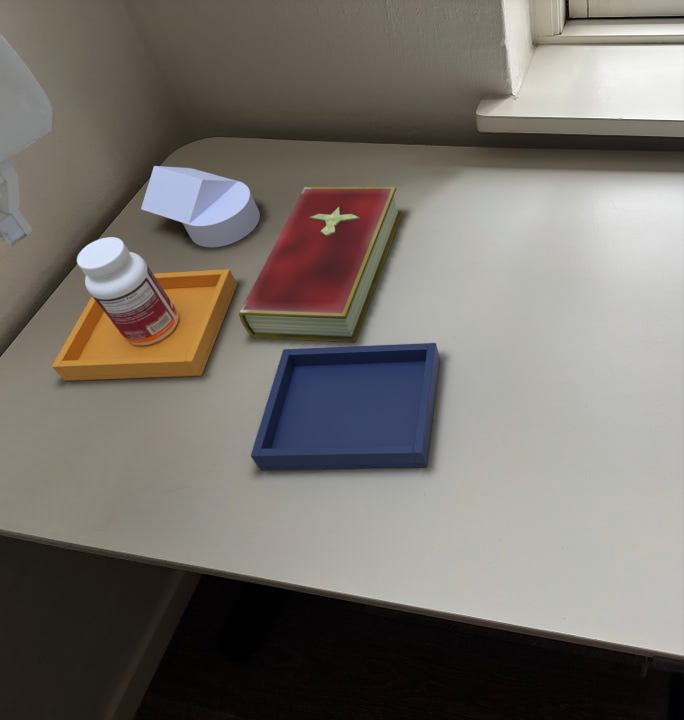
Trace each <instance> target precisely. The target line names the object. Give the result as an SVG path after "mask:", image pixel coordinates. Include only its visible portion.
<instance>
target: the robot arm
mask: <svg viewBox="0 0 684 720" xmlns="http://www.w3.org/2000/svg"><path fill="white" fill-rule="evenodd" d="M54 112H55V111H54V106H53V104H52V102H51V100H50V98H49V97H48V95H47V93H46V92H45V90H44V88H43V87H42V86H41V84H40V83H39V81H38V80H37V78H36V77H35V75H34V74H33V73H32V71H31V70H30V68H29V67H28V66H27V65H26V63H25V62H24V60H23V59H22V58H21V56H20V55H19V54H18V53H17V51H16V50H15V49H14V47H13V46H11V44H10V43H9V42H8V40H7V39H6V38H5V37H4V36H3V34H2V33H0V241H1V242H3V243H7V245H9V246H11V247H13V246H14V245H16V244H17V243H19V242H20V241H22V240H23V239H25V238H26V237H27V236H29V235H31V234H32V233H34V228H33V227H32V225H31V224H30V223H29V221H28V220H27V219H26V217H25V216H24V215H23V213H22V211H21V210H20V208H21V197H20V195H21V194H20V177H19V176H20V175H19V172H18V171H17V170H16V168H15V167H14V165H13V164H12V162H11V161H10V160H9V159H10V158H11V157H13V156H15V155H16V154H18V153H20V152H21V151H23V150H25V149H26V148H28V147H29V146H31V145H32V144H34V143H36V142H38V141H39V140H41V139H42V138H44V137H47V136H48V135H49V134H50V133H51V132H52V130H53V125H54Z"/></svg>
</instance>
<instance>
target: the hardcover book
mask: <svg viewBox="0 0 684 720" xmlns="http://www.w3.org/2000/svg"><path fill="white" fill-rule="evenodd" d="M396 191H397V186H304V188H303V189H302V191H301V193H300V195H299V197H298V199H297V200H296V203H295V205H294V207H293V209H292V210H291V213H290V214H289V216H288V218H287V221H286V222H285V224H284V226H283V227H282V229H281V232H280V234H279V235H278V237H277V239H276V241H275V243H274V245H273V247H272V249H271V251H270V253H269V255H268V257H267V259H266V261H265V262H264V264H263V267H262V268H261V270H260V272H259V274H258V275H257V278H256V280H255V282H254V284H253V286H252V287H251V289H250V292H249V293H248V295H247V297H246V300H245V301H244V303H243V305H242V307H241V309H240V311H239V313H238V316H239V320H240V322H241V324H242V326H243V328H244V329H245V330H246V332H247V333H248V334H249V336H251V338H253V339H270V340H271V339H272V340H273V339H274V340H293V341H296V340H297V341H313V342H315V341H316V342H317V341H319V342H337V343H338V342H339V343H356V341H357V338H358V336H359V333H360V330H361V329H362V325H363V323H364V319H365V316H366V315H367V311H368V309H369V306H370V303H371V300H372V298H373V295H374V292H375V290H376V287H377V285H378V281H379V278H380V276H381V274H382V271H383V268H384V266H385V262H386V260H387V257H388V254H389V251H390V249H391V246H392V243H393V241H394V238H395V235H396V232H397V230H398V227H399V224H400V222H401V219H402V217H403V214H404V213H403V210H399V209H398V207H397V202H396V200H395V195H396Z"/></svg>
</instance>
